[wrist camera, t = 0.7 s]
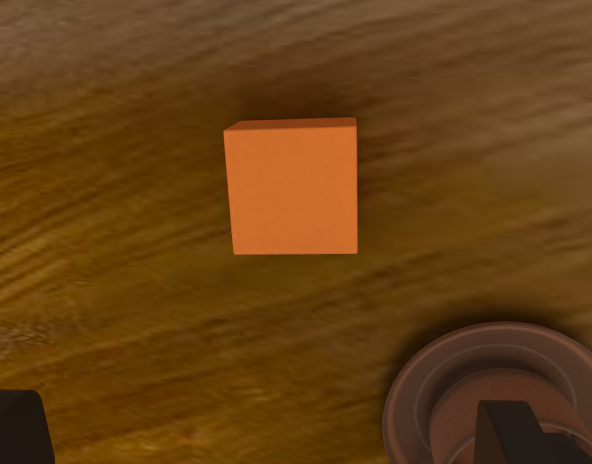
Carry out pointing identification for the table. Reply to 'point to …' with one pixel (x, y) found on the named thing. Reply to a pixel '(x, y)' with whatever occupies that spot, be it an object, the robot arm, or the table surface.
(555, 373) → the cup and saucer
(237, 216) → the orange block
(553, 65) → the table surface
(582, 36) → the table surface
